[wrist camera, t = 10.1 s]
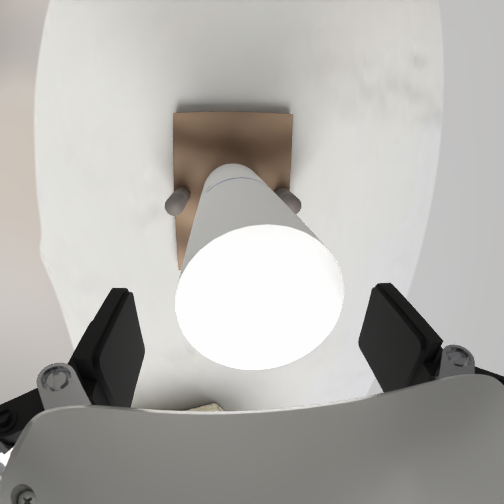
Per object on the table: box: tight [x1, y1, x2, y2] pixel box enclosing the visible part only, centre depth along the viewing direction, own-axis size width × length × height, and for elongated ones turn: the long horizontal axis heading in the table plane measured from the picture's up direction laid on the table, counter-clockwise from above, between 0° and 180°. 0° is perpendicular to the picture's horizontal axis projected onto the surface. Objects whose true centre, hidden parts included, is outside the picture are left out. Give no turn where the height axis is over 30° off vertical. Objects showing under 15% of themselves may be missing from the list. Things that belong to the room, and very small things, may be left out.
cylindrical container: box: [175, 163, 344, 370], centre depth 23 cm, size 7×7×25 cm
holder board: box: [165, 112, 301, 270], centre depth 33 cm, size 20×14×8 cm
